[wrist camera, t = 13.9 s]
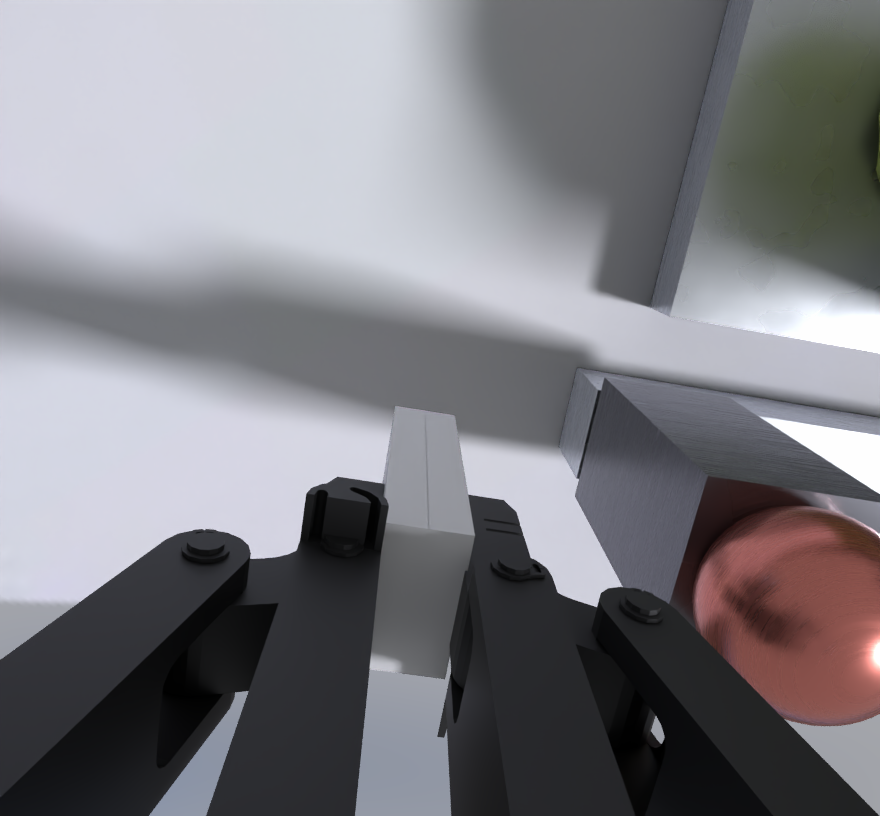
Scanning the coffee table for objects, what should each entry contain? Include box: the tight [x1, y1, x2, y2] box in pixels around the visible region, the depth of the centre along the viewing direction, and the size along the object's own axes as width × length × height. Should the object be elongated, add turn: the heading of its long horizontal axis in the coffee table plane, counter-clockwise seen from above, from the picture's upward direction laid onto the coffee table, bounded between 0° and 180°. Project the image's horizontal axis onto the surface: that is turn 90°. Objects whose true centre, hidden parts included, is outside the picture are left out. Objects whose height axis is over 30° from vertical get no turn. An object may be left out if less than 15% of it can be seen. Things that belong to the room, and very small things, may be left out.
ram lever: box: [575, 377, 880, 726], centre depth 17 cm, size 4×4×11 cm
